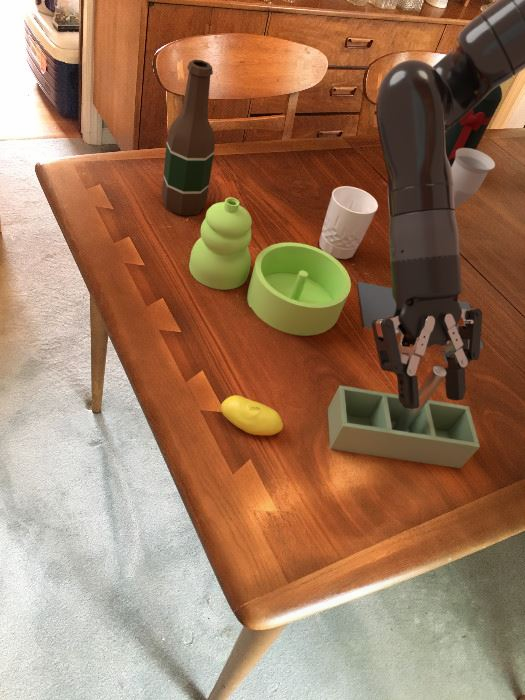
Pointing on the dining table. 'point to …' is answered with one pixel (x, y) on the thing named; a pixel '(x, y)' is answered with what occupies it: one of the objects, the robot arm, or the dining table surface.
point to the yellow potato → (251, 416)
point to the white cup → (346, 221)
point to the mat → (383, 304)
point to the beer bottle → (190, 147)
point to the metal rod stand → (420, 398)
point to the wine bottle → (472, 125)
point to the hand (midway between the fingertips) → (433, 402)
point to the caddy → (416, 445)
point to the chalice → (469, 173)
